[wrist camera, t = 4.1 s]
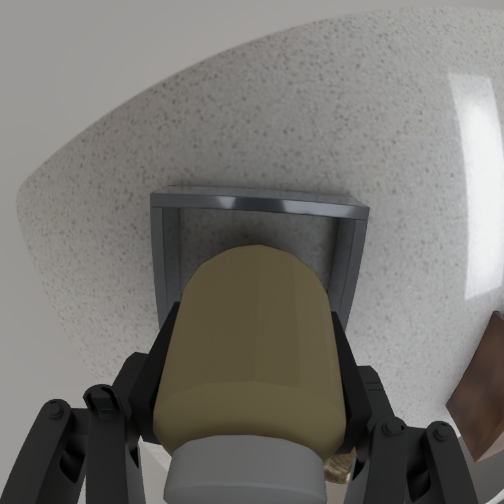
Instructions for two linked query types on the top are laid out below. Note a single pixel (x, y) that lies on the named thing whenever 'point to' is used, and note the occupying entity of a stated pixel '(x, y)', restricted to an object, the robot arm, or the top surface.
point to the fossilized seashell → (338, 467)
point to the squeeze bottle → (250, 384)
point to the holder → (260, 200)
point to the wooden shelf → (482, 395)
